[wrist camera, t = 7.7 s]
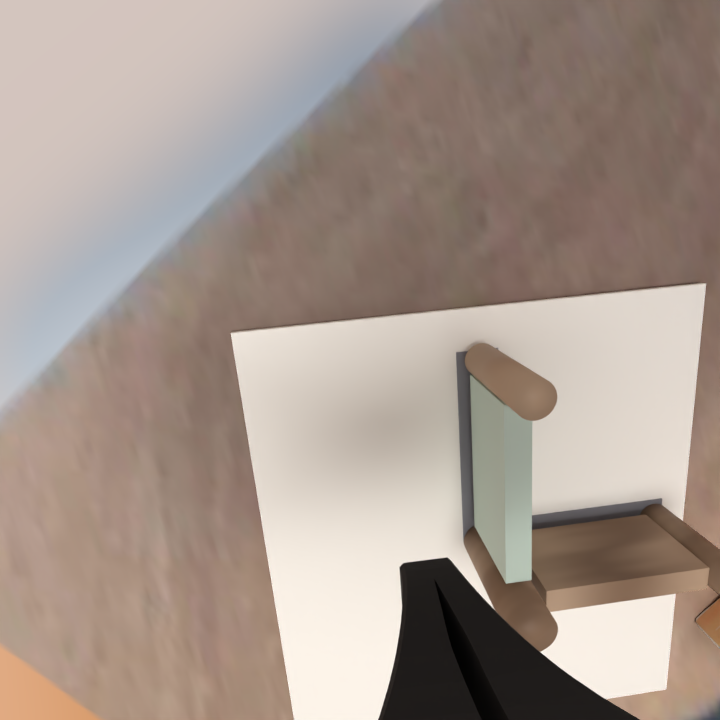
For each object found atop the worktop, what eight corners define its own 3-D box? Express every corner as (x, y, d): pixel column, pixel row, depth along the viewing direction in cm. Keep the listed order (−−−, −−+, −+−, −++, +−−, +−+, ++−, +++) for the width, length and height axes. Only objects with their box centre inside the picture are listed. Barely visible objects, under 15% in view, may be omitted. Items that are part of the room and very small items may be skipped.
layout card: (700, 282, 20) (707, 283, 20) (662, 684, 26) (667, 690, 25) (232, 331, 19) (230, 333, 19) (299, 741, 25) (298, 748, 24)
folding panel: (500, 522, 21) (553, 605, 17) (470, 526, 21) (514, 610, 17) (497, 341, 19) (557, 375, 14) (464, 345, 19) (513, 380, 14)
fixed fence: (667, 497, 22) (775, 577, 17) (664, 530, 23) (769, 618, 18) (462, 524, 22) (508, 616, 17) (463, 557, 22) (509, 657, 17)
